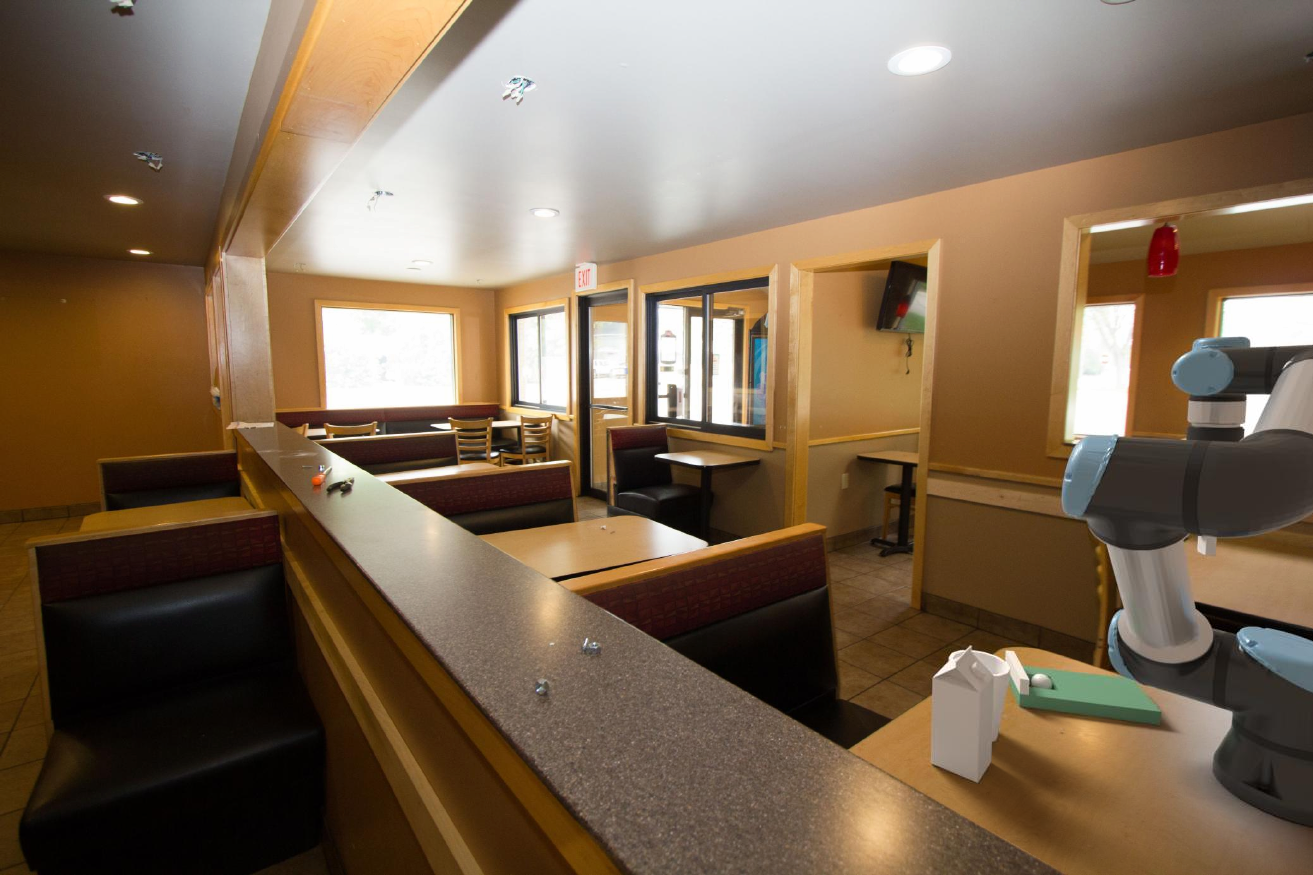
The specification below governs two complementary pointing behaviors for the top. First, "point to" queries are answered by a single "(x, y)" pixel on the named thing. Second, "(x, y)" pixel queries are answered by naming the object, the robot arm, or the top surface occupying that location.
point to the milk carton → (962, 717)
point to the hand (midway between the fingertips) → (1206, 553)
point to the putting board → (1082, 693)
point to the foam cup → (1000, 683)
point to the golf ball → (1041, 681)
